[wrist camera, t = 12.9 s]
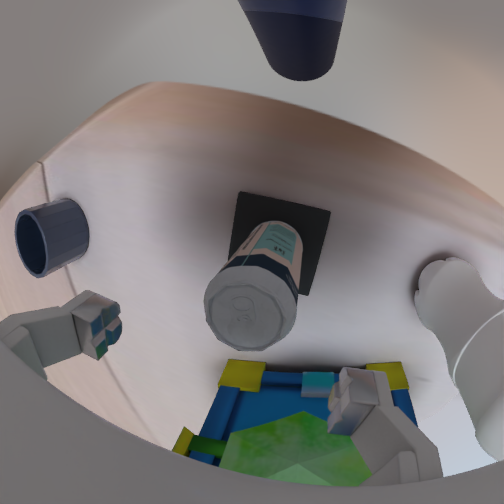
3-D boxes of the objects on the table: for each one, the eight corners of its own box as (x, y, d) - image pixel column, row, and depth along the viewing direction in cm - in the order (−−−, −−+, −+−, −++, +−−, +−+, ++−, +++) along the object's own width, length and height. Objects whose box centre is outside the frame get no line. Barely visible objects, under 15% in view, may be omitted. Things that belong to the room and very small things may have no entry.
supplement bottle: (252, 273, 25) (208, 356, 14) (244, 222, 24) (187, 276, 12) (305, 269, 24) (298, 358, 13) (299, 216, 22) (290, 269, 11)
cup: (52, 195, 28) (12, 206, 22) (89, 202, 27) (44, 215, 21) (54, 250, 31) (19, 267, 25) (90, 264, 30) (52, 286, 23)
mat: (240, 191, 23) (238, 191, 23) (330, 211, 22) (331, 212, 22) (227, 273, 26) (225, 275, 26) (308, 293, 25) (308, 296, 25)
